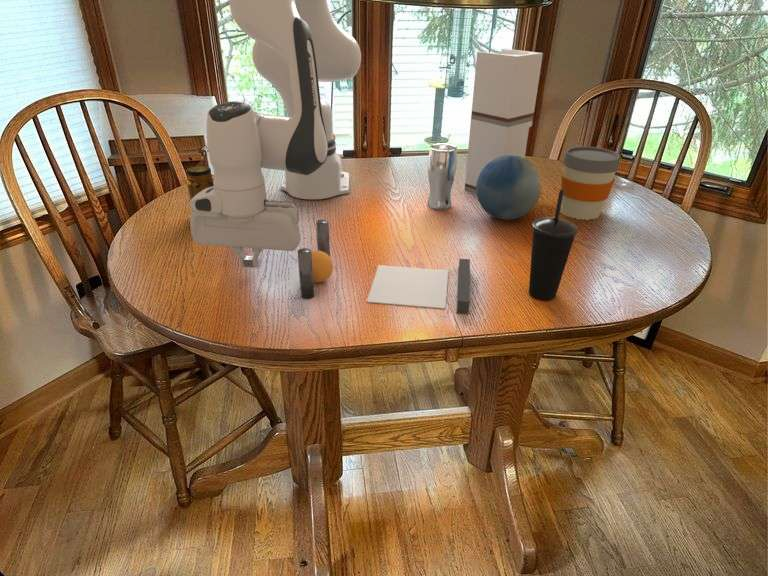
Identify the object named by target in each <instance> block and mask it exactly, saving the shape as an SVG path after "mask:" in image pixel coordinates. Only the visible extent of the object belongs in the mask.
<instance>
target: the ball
mask: <svg viewBox="0 0 768 576" xmlns="http://www.w3.org/2000/svg"><path fill="white" fill-rule="evenodd" d="M311 251H312V267H313V282H314V283H321V282H324V281H326V280H327V279H329V278H330V277H331V275H332V273H333V270H334V263H333V260H332V257H331V255H330V256H329V255H328V254H326V253H325V252H322V251H318V250H311Z"/></svg>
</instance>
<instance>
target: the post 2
mask: <svg viewBox="0 0 768 576" xmlns="http://www.w3.org/2000/svg"><path fill="white" fill-rule="evenodd" d="M315 222H316V224H315V227H316V239H317V240H316V244H317V251H322V252H325V253H326V254H328V255H329V256H330V257H331V246H330V245H331V244H330V225H329V223H330V222H329V220H326V219H319V220H316V221H315Z"/></svg>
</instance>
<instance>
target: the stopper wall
mask: <svg viewBox="0 0 768 576" xmlns="http://www.w3.org/2000/svg"><path fill="white" fill-rule="evenodd" d="M458 260H459V261H458V262H459V263H458V271H457V272H458V274H457V275H458V276H457V297H456V298H457V299H456V300H457V301H456V314H461V315H462V314H464V315H469V311H470V302H471V301H470V297H471V296H470V295H471V293H470V291H471V288H470V286H471V285H470V284H471V282H470V281H471V278H470V277H471V275H470V273H471V271H470V269H471V267H470V266H471V264H470V263H471V261H470V260H471V259H470V258H459V259H458Z"/></svg>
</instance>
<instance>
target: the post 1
mask: <svg viewBox="0 0 768 576" xmlns="http://www.w3.org/2000/svg"><path fill="white" fill-rule="evenodd" d="M312 251H313V250H312V249H310V248H308V247H307V248H306V247H305V248H299V249H298V250H297V261H298V272H299V274H298V275H299V284H300V285H299V286H300V297H301V299H305V300H310V299H313V298H314V297H315V285H314V284H315V282H313V267H312Z"/></svg>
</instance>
